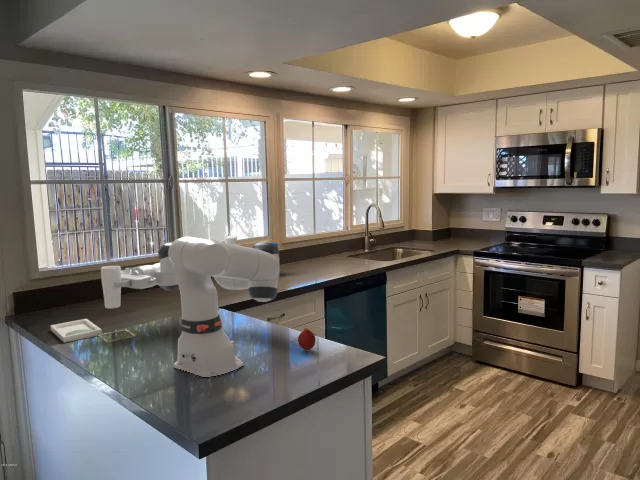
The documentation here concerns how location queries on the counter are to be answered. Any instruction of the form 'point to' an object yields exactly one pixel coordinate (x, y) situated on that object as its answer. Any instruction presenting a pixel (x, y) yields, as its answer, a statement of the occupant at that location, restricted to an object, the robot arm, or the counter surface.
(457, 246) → the counter surface
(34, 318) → the counter surface
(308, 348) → the onion
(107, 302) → the drinking glass
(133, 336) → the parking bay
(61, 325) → the tray
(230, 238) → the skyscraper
